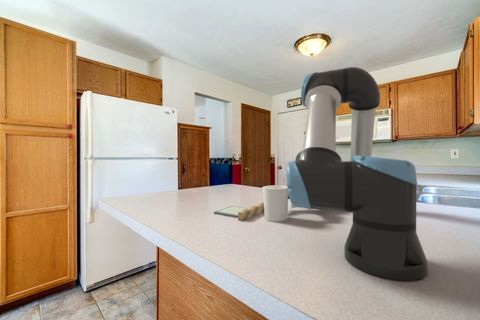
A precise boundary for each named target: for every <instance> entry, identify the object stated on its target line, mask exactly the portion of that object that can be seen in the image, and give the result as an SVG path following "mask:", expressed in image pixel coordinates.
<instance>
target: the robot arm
mask: <svg viewBox="0 0 480 320" xmlns="http://www.w3.org/2000/svg"><path fill="white" fill-rule="evenodd" d="M301 83H302V84H301V91H300V98H301V99H300V100H301V104H302V106H304V107H305V108H306V109H307V115H306V123H305V130H304V131H305V132H304V137H303V145H302V146H303V147H302V149H301V150H300V151H299V152H298V153H297V154H296V156H295V160H291V161H288V162H287V163H286V172H285V173H286V175H285V177H286V178H285V179H286V186H287V189H288V200H289V201H290V204H291V209H294V208H301V209H307V210H316V211H317V210H320V211H333V212H343V213H344V212H346V213H352V225H351V227H350V229H349V230H350V231H349V233H348V235H347V238H346V241H345V244H344V249H343V250H344V253H343V254H344V257H345V260H346V261H347V262H348V263H349V264H350V265H352V266H353V267H355V268H356V269H358V270H361V271H362V272H365V273H367V274H371V275H373V276H376V277H380V278H383V279H388V280H394V281H403V282H404V281H405V282H407V281H408V282H409V281H411V280H413V281H418V280H417V279H419V280H422V279H421V278H423V279H425V278H426V277H427V276H428V270H429V269H428V267H429V266H428V259H427V256H426V253H425V252H424V249H423V246H422V244H421V241H420V238H419V236H418V233H417V186H418V184H419V183H418V181H417V180H418V179H417V172H416V170H417V169H416V166H415V165H414V164H413V163H412V162H411V161H409V160H405V159H395V158H387V157H378V156H376V157H375V156H372V153H373V152H372V151H373V140H374V131H375V130H374V129H375V120H376V109H377V108H379V107H380V101H381V92H380V87H379V85H378V83H377V81H376V80H375V78H374V77H373V75H372V74H371V73H369V71H367V70H366V69H363V68H360V67H357V66H350V67H345V68H340V69H332V70H326V71H322V72H321V71H320V72H313V73H310V74H309V73H308V74H307V75H305V76H304V78H303V80H302V82H301ZM341 104H348V108H349V109H350V110H351V123H350V124H351V127H350V128H351V133H350V160H349V161H347V160H346V161H345V160H343V161H342V157H341V155H340V154H339V153H338V152H337V151H336V142H337V140H336V135H337V134H336V133H337V130H336V129H337V110H338V108H339V107H340V105H341ZM425 276H426V277H425Z"/></svg>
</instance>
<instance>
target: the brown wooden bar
mask: <svg viewBox="0 0 480 320" xmlns="http://www.w3.org/2000/svg"><path fill="white" fill-rule="evenodd" d="M247 208H248V209H245V210H243V211H240V212H238V218H237V220H238V221H241V222H244V221H246V220H248V219H251V218H252V217H255V216H257V215H259V214H261V213H264V201H263V202H260V203H258V204H256V205H253V206H251V207H247Z"/></svg>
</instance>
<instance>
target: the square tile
mask: <svg viewBox="0 0 480 320" xmlns="http://www.w3.org/2000/svg"><path fill="white" fill-rule="evenodd" d="M248 208H249V207H244V206H243V207H242V206H234V205H229V206H228V207H225V208H221V209H220V210H215V211H213V214H214V215H219V216H220V215H221V216H225V217H230V218H235V219H238V212H240V211H243V210H245V209H248Z"/></svg>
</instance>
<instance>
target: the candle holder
mask: <svg viewBox="0 0 480 320" xmlns="http://www.w3.org/2000/svg"><path fill="white" fill-rule="evenodd" d="M262 195H263V197H262V199H263V202H264V212H263V213H264V219H265V220H266V221H268V222H273V223H280V222H286V221H287V219H288V206H289V199H288V189H287V185H279V184H278V185H277V184H276V185H274V184H273V185H265V186H262Z"/></svg>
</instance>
